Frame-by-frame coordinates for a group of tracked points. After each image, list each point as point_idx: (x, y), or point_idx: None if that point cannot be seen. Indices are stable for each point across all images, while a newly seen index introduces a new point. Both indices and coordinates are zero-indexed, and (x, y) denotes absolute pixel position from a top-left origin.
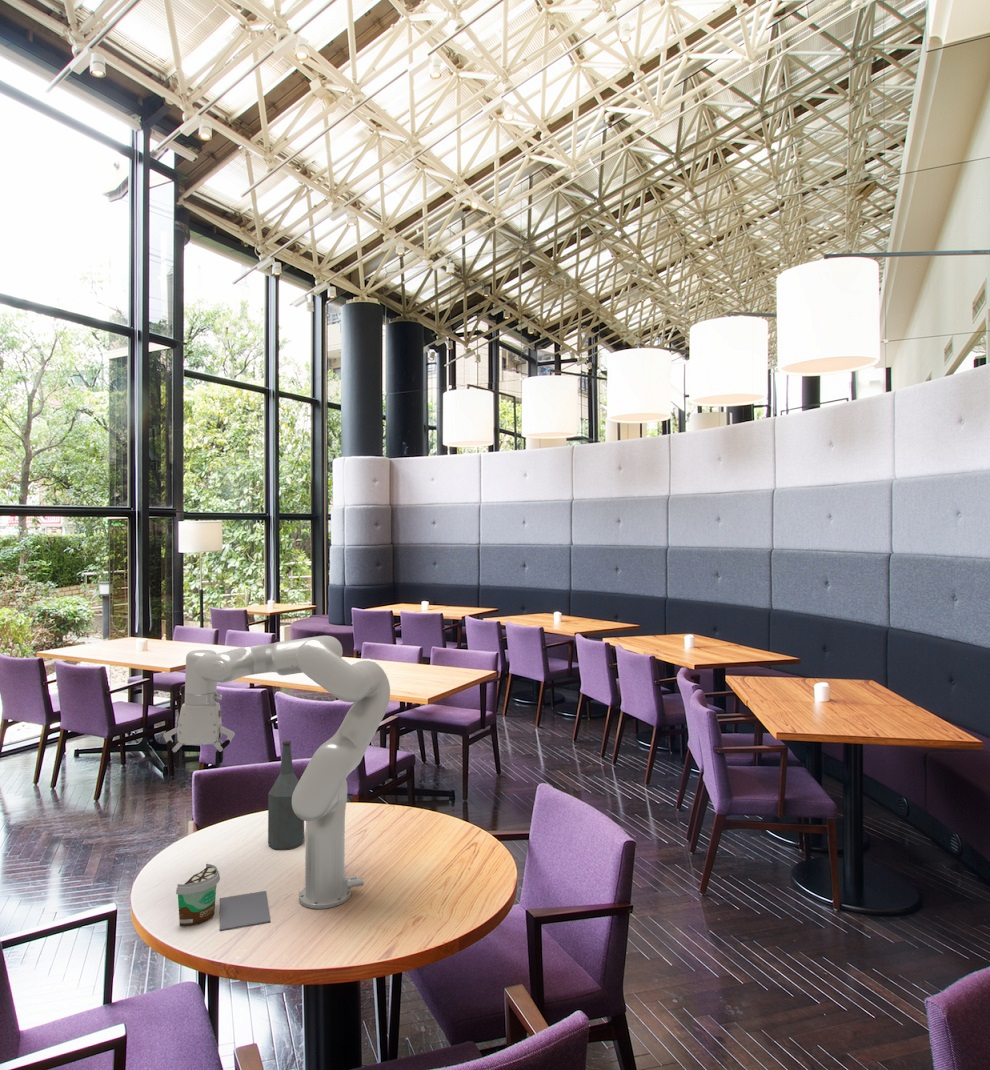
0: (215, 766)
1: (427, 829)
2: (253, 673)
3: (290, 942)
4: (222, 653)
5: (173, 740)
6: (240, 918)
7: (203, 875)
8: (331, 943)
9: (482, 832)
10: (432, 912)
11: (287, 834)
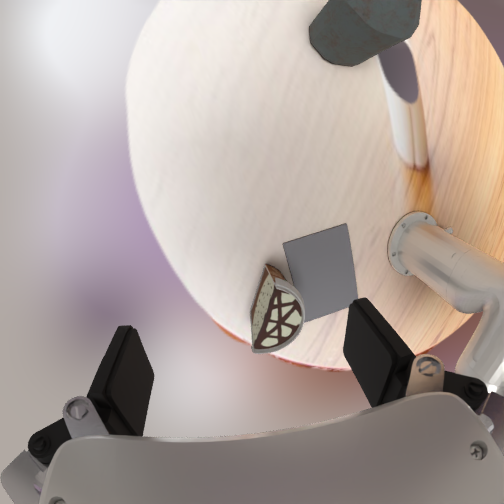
0: (344, 352)
1: (487, 70)
2: None
3: None
4: None
5: (50, 456)
6: (324, 299)
7: (280, 315)
8: (406, 332)
9: None
10: None
11: (359, 60)
